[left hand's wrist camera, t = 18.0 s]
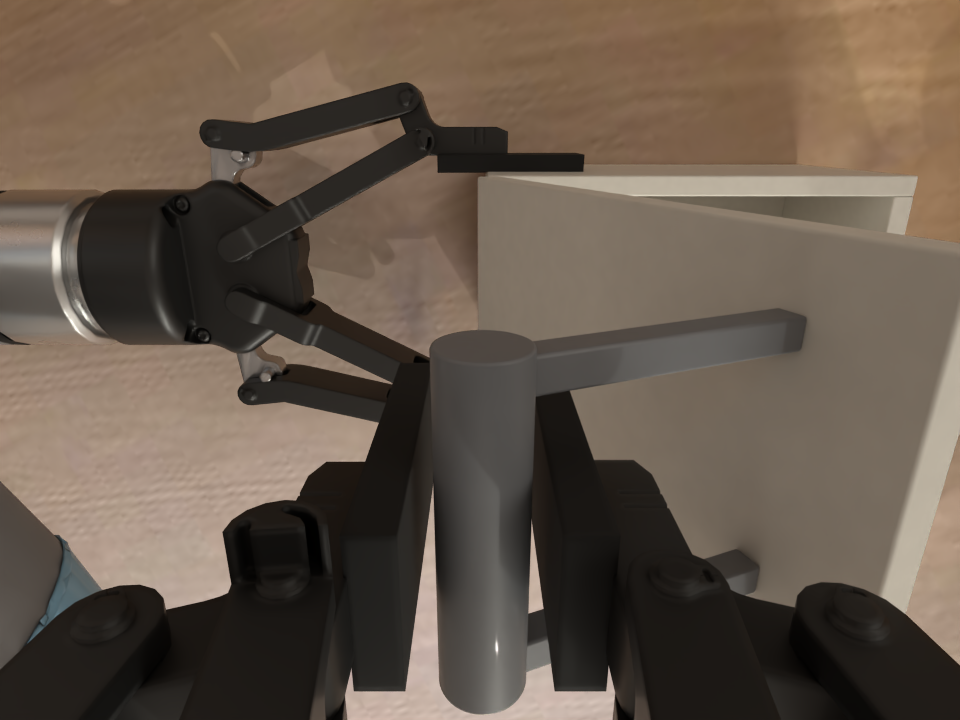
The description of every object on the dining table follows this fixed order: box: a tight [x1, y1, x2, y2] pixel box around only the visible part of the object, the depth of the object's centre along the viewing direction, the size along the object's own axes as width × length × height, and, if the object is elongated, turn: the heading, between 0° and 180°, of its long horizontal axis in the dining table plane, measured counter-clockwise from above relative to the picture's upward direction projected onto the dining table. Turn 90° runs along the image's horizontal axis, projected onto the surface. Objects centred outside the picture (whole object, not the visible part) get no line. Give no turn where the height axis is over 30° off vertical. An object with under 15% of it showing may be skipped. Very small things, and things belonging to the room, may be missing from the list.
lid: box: [430, 176, 960, 715], centre depth 17 cm, size 18×9×8 cm
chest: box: [486, 164, 918, 235], centre depth 31 cm, size 18×9×10 cm, turn 90°
